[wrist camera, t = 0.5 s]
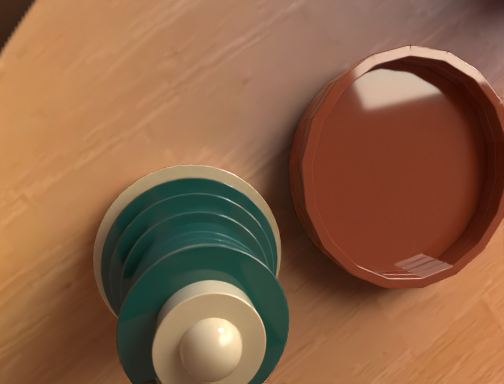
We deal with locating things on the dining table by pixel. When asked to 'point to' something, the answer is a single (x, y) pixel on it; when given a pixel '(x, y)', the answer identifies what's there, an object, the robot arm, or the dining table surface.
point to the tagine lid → (193, 278)
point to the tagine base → (401, 167)
